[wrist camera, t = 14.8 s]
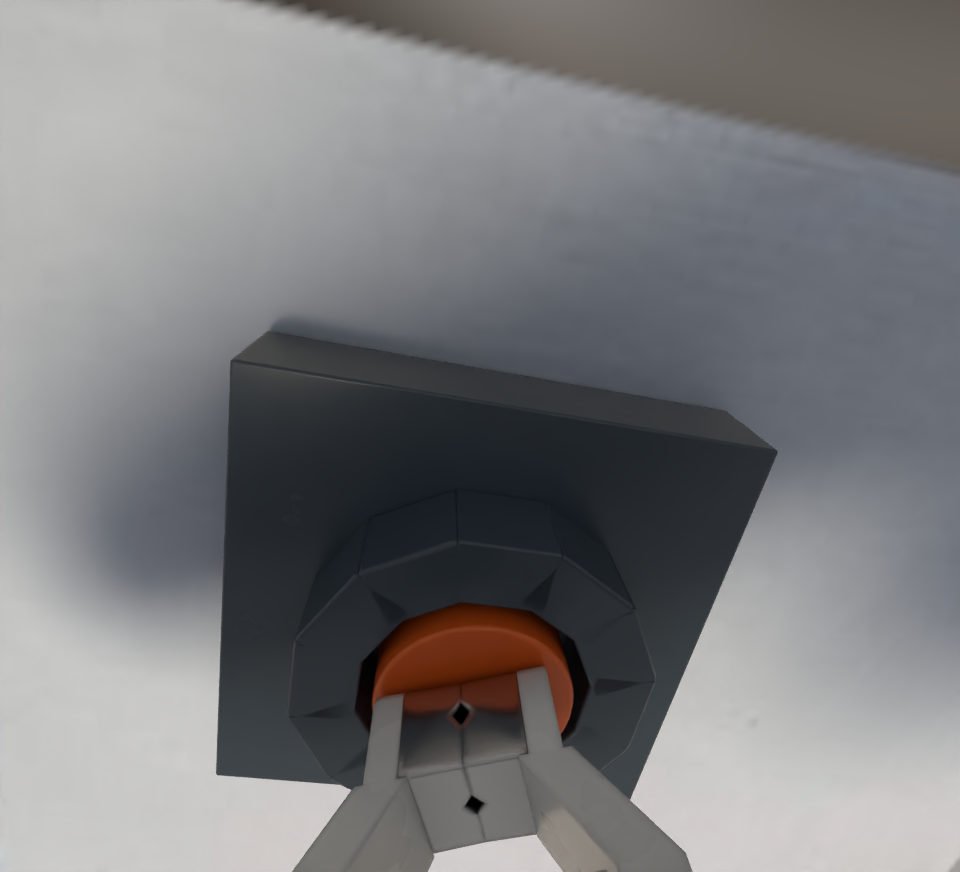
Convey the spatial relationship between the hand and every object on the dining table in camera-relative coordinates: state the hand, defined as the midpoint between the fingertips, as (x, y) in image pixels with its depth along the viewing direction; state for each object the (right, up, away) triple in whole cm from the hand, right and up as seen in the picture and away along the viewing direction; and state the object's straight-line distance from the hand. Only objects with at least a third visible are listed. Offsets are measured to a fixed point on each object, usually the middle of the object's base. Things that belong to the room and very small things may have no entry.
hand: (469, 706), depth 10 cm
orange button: (0, +1, +2) cm, 2 cm away
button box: (0, +2, +4) cm, 4 cm away
